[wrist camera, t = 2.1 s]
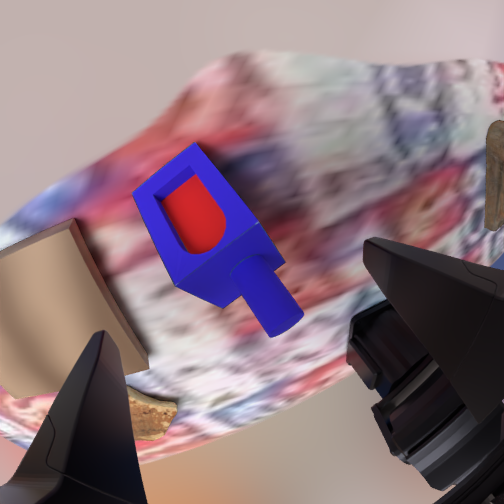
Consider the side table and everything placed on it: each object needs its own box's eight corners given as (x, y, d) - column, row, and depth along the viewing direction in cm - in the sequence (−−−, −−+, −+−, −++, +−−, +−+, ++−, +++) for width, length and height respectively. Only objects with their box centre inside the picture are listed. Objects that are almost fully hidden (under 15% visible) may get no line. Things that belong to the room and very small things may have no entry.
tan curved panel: (74, 217, 12) (68, 228, 11) (147, 354, 18) (149, 368, 17) (-63, 286, 10) (-70, 297, 9) (17, 387, 15) (15, 399, 14)
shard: (45, 412, 18) (43, 429, 17) (39, 360, 16) (35, 380, 14) (157, 429, 23) (160, 445, 22) (179, 385, 21) (183, 403, 19)
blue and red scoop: (177, 230, 16) (254, 359, 12) (131, 192, 12) (213, 357, 9) (229, 190, 16) (322, 311, 12) (194, 141, 12) (310, 287, 8)
